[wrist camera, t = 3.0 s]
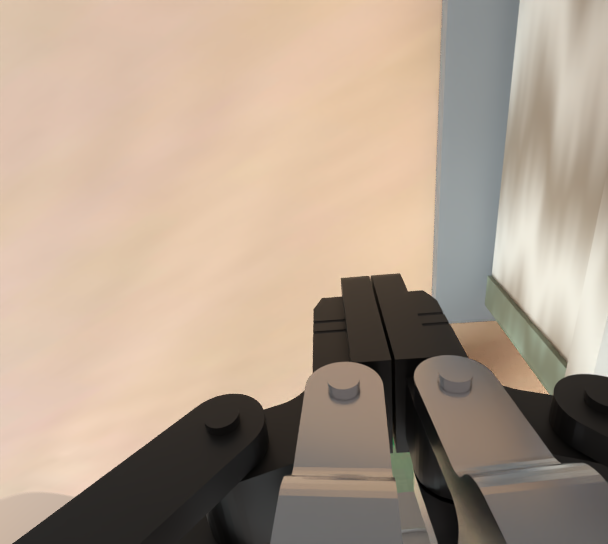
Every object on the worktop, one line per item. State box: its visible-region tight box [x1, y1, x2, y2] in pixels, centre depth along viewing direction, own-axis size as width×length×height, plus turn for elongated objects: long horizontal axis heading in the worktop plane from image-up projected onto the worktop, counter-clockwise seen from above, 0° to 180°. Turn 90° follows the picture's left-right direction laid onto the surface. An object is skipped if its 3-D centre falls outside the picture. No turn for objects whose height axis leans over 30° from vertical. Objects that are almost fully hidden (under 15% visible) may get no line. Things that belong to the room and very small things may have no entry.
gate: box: [485, 0, 608, 395], centre depth 14 cm, size 14×2×9 cm, turn 6°
